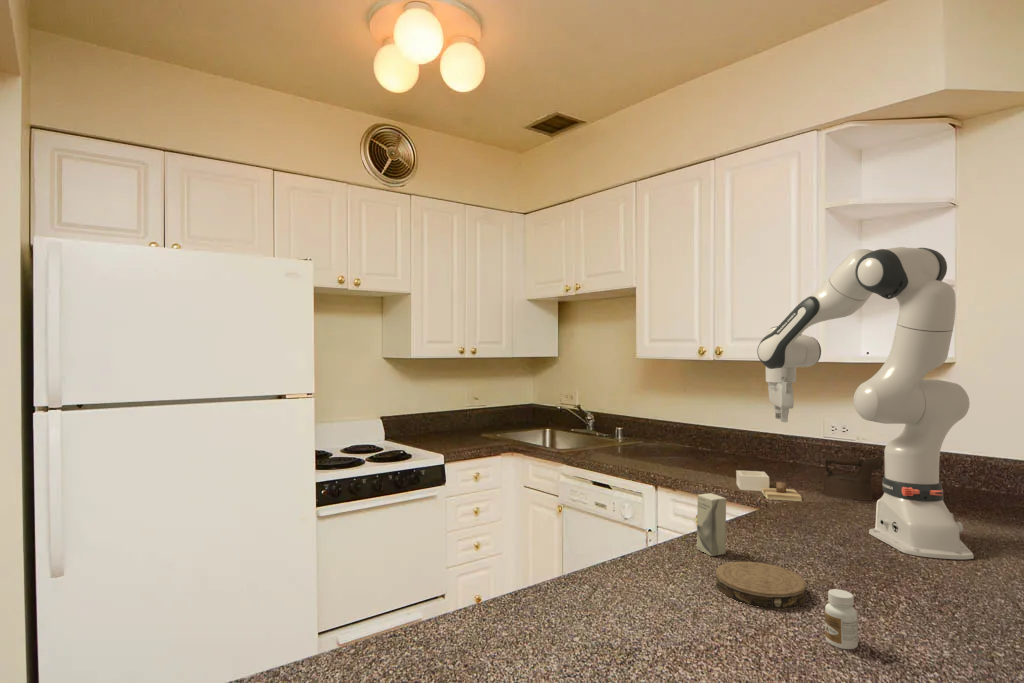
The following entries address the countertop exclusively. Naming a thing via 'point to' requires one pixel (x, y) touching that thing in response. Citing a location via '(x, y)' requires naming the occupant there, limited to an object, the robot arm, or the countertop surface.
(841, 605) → the pill bottle
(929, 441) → the robot arm
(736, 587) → the brown round disc
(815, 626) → the countertop surface
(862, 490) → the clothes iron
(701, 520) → the box
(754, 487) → the dish
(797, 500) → the mat
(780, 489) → the lid
